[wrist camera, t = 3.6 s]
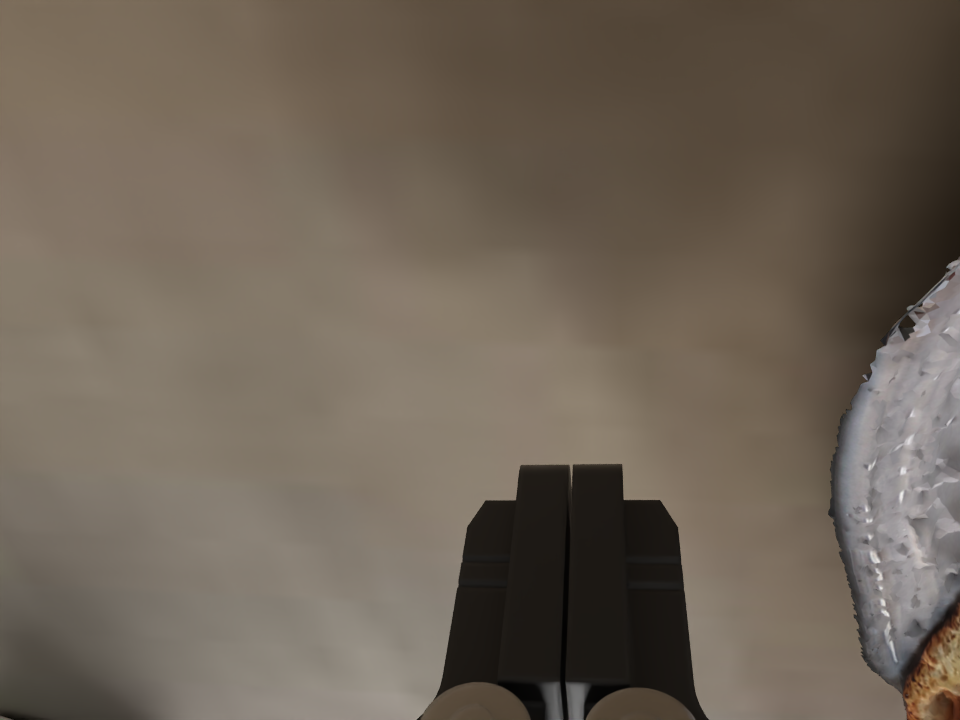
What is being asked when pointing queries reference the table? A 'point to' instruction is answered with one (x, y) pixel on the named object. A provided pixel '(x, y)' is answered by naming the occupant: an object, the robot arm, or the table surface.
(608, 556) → the robot arm
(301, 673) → the table surface
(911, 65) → the table surface
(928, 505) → the food plate
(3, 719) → the syrup box
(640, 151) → the table surface
